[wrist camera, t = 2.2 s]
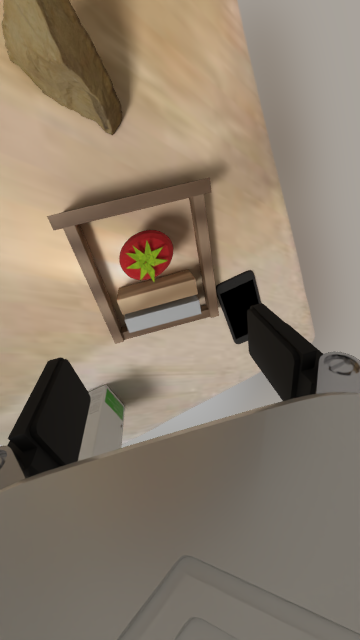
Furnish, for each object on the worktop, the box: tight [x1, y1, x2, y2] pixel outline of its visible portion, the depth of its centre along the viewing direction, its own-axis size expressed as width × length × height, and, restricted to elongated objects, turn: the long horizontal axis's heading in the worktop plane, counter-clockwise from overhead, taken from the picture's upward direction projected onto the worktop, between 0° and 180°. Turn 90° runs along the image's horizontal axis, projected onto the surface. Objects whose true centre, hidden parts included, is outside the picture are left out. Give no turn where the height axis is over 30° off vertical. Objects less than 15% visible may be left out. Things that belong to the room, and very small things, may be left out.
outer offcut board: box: [124, 295, 201, 333], centre depth 37 cm, size 2×12×5 cm, turn 101°
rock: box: [2, 0, 122, 135], centre depth 22 cm, size 11×9×10 cm
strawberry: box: [119, 230, 173, 283], centre depth 30 cm, size 6×8×10 cm
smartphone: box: [216, 271, 261, 344], centre depth 43 cm, size 7×15×1 cm, turn 23°
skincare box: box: [78, 385, 125, 461], centre depth 41 cm, size 8×7×16 cm
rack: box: [47, 178, 219, 344], centre depth 33 cm, size 21×19×6 cm
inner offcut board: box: [117, 270, 198, 315], centre depth 35 cm, size 2×12×5 cm, turn 102°
